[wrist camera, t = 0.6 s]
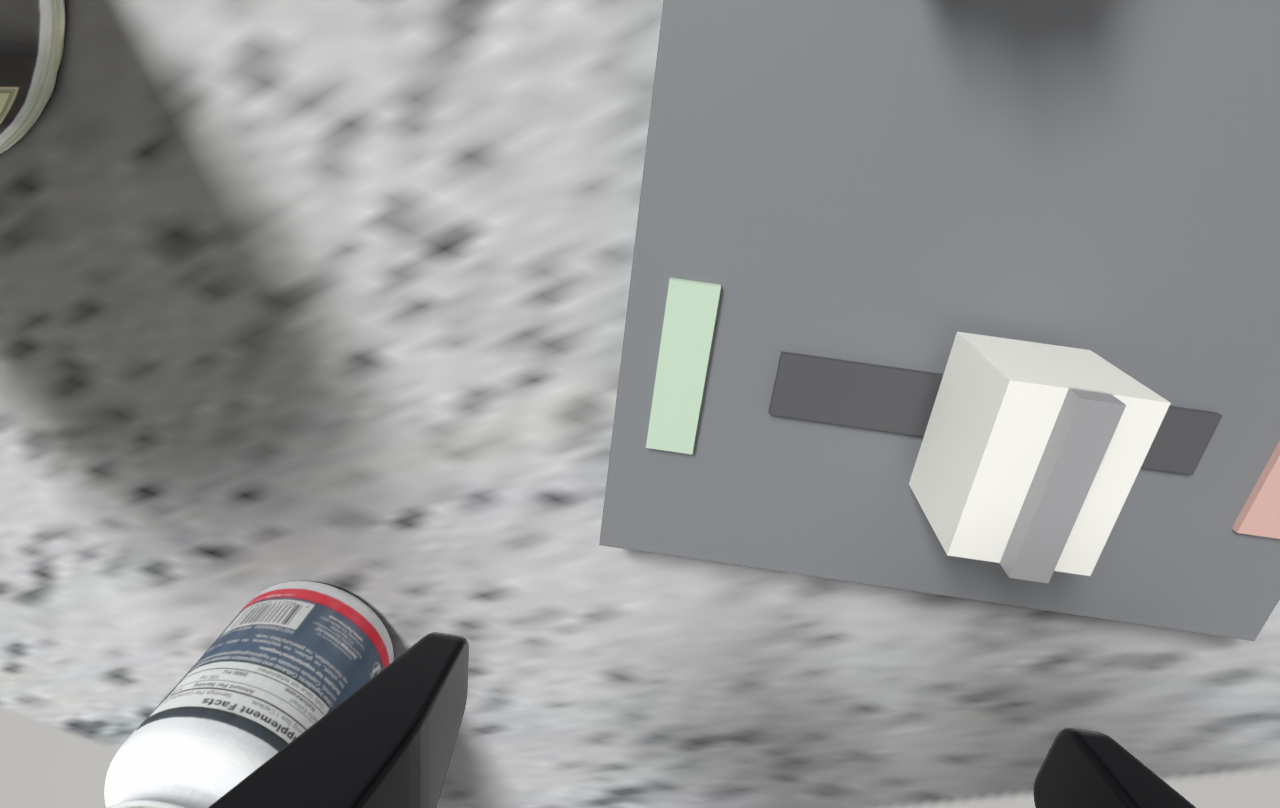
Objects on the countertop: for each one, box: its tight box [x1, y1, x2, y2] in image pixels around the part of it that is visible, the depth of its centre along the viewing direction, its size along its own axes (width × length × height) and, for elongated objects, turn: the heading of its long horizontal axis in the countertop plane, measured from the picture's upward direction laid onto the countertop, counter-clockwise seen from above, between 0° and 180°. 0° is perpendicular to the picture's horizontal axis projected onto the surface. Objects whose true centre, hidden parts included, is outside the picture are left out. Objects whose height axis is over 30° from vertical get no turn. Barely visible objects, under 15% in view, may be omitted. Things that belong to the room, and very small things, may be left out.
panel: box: [599, 0, 1280, 641], centre depth 16 cm, size 18×23×2 cm
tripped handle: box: [909, 332, 1171, 583], centre depth 15 cm, size 3×4×4 cm
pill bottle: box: [104, 581, 394, 808], centre depth 20 cm, size 5×5×9 cm
